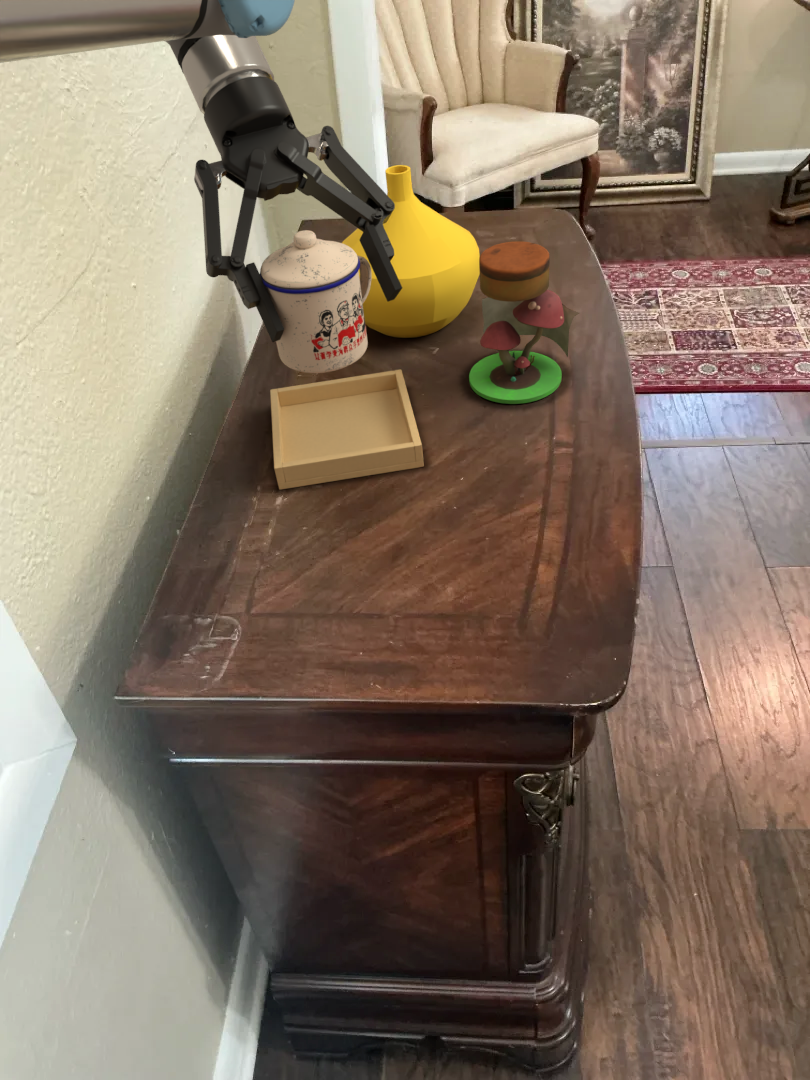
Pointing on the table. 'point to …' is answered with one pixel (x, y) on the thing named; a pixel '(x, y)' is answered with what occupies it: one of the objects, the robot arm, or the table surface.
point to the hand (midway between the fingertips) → (338, 315)
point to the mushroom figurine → (518, 324)
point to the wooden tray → (343, 429)
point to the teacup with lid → (318, 302)
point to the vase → (420, 265)
